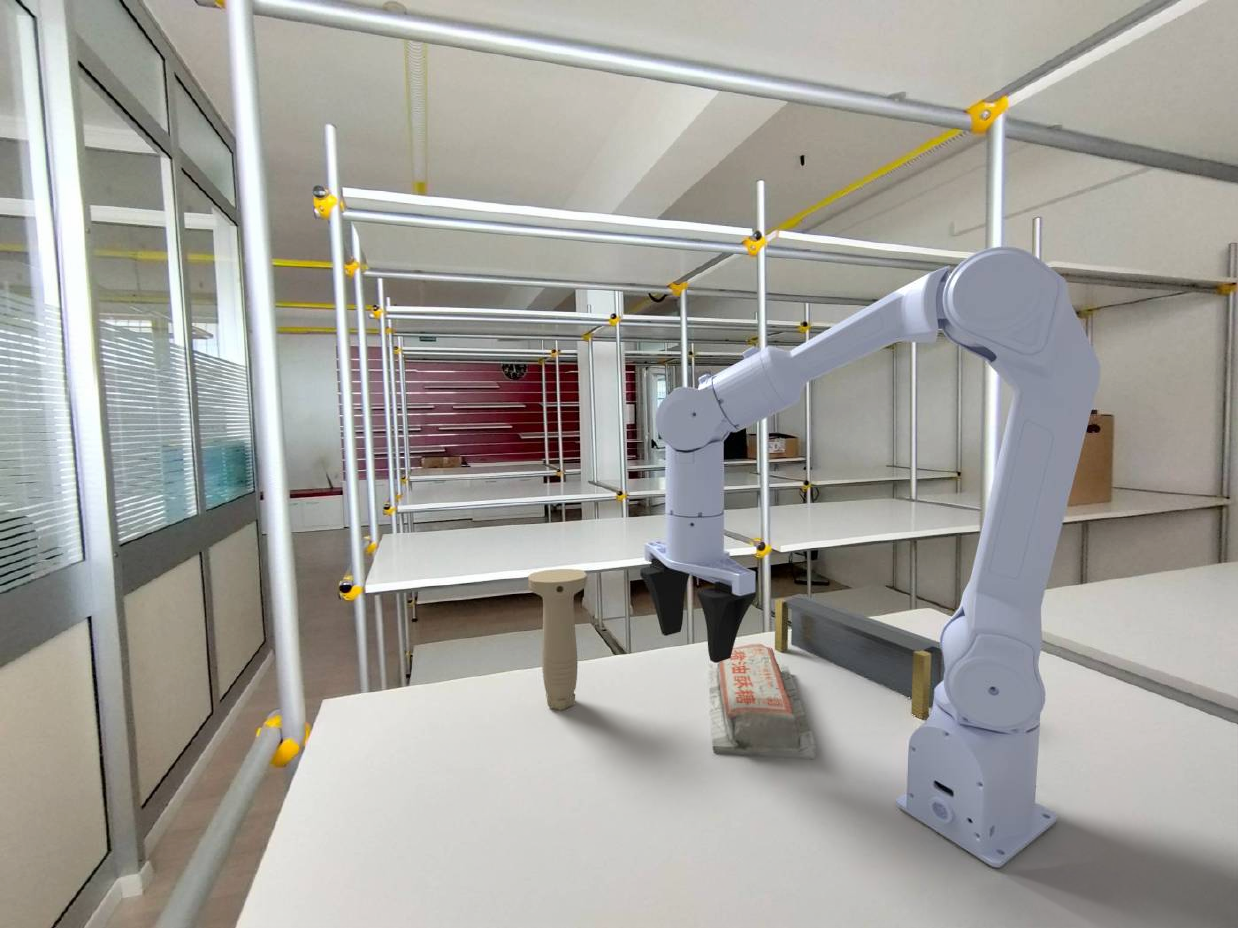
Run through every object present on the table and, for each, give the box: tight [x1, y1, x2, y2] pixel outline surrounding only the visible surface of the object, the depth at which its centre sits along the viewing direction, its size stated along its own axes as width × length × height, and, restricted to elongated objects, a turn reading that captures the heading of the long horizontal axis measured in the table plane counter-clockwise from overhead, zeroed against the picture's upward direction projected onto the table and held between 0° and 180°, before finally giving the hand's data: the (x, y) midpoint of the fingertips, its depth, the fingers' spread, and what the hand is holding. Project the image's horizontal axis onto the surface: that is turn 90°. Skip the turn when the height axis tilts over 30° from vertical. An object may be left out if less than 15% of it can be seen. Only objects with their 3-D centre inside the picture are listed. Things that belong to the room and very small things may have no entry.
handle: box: [527, 568, 588, 711], centre depth 64 cm, size 5×6×15 cm
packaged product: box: [707, 643, 818, 760], centre depth 63 cm, size 18×5×10 cm
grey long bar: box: [774, 593, 945, 720], centre depth 70 cm, size 5×21×7 cm, turn 31°
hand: (694, 645), depth 57 cm, fingers open, 7 cm apart
